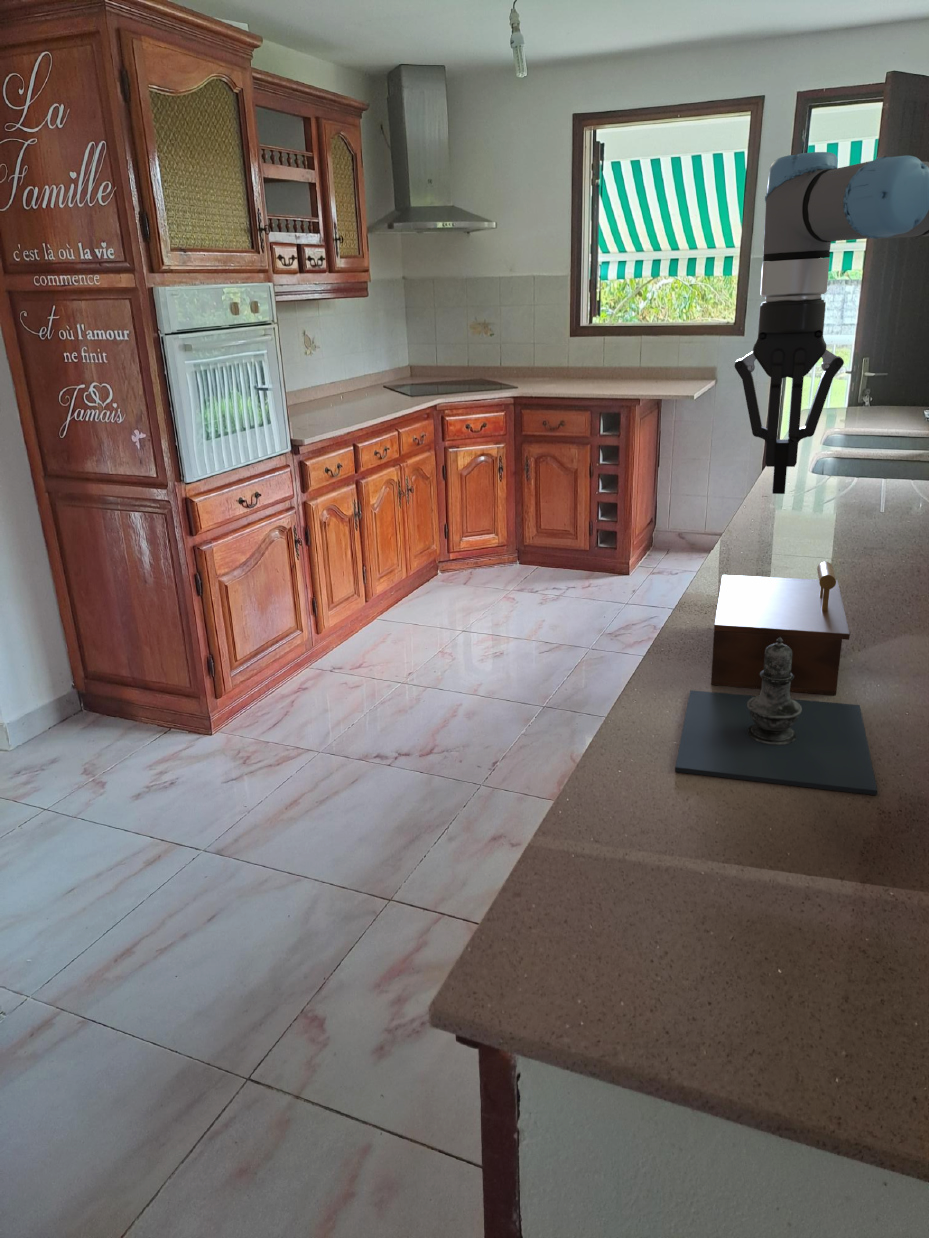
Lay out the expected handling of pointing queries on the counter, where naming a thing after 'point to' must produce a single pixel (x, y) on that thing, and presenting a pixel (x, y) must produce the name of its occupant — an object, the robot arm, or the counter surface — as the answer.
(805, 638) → the bread box
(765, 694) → the salt shaker
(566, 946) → the counter surface
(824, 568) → the bread box lid
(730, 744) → the mat
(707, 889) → the counter surface
